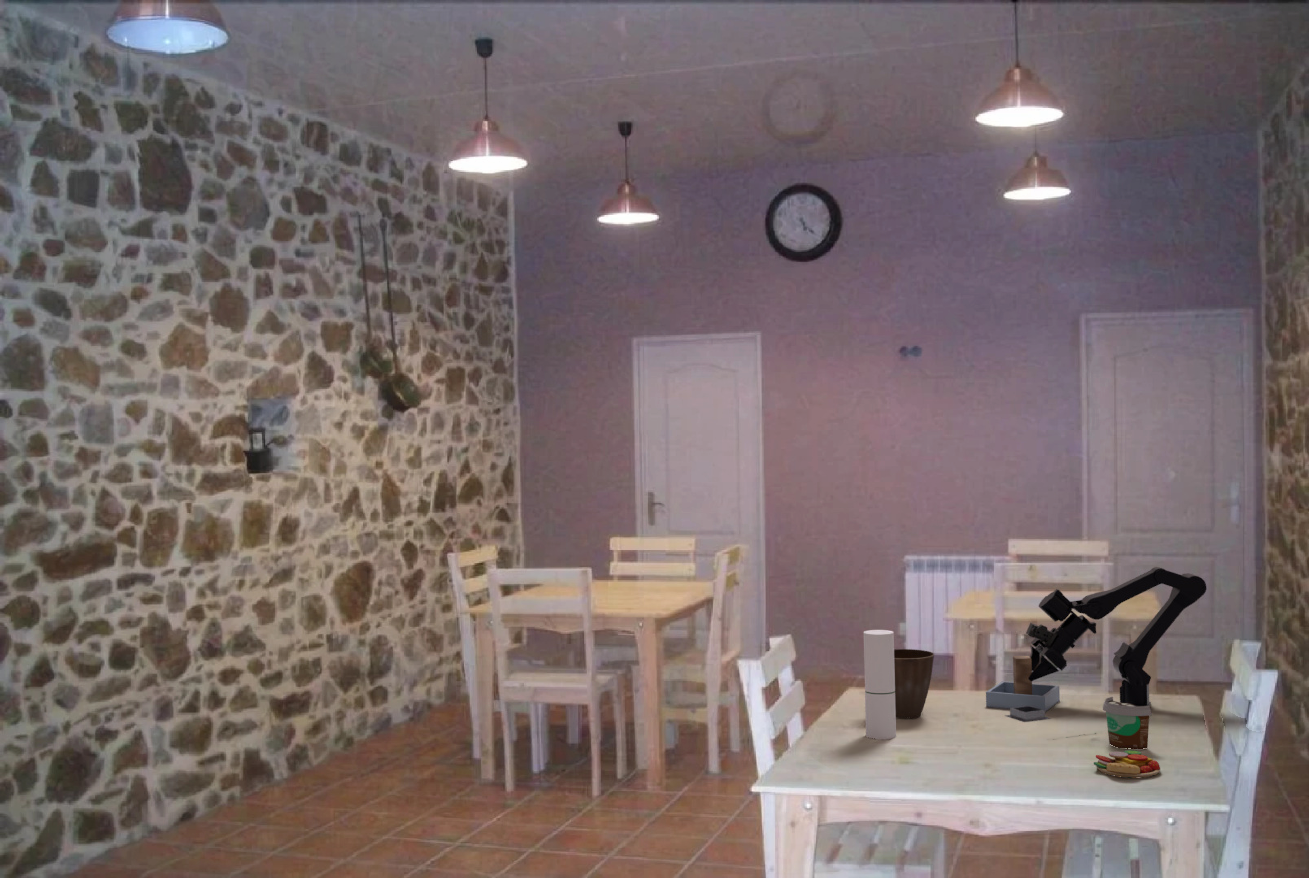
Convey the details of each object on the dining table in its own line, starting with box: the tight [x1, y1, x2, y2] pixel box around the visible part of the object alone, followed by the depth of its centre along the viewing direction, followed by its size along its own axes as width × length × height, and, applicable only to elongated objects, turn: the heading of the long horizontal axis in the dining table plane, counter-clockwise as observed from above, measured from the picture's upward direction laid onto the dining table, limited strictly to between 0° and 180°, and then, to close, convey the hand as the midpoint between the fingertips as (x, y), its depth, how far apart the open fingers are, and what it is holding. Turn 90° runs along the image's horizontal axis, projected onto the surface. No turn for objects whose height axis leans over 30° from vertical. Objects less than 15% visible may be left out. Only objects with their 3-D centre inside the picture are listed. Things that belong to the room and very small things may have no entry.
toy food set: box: [1093, 749, 1161, 779], centre depth 275 cm, size 13×13×3 cm
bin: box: [985, 681, 1061, 713], centre depth 340 cm, size 15×15×4 cm
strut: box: [1012, 655, 1033, 695], centre depth 340 cm, size 4×4×12 cm
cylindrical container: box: [863, 629, 897, 740], centre depth 311 cm, size 7×7×25 cm
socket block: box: [1004, 706, 1052, 723], centre depth 324 cm, size 8×8×3 cm
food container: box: [1102, 696, 1152, 750], centre depth 295 cm, size 12×6×10 cm, turn 25°
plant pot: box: [894, 648, 935, 719], centre depth 332 cm, size 15×15×16 cm
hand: (1026, 676), depth 340 cm, fingers open, 9 cm apart
